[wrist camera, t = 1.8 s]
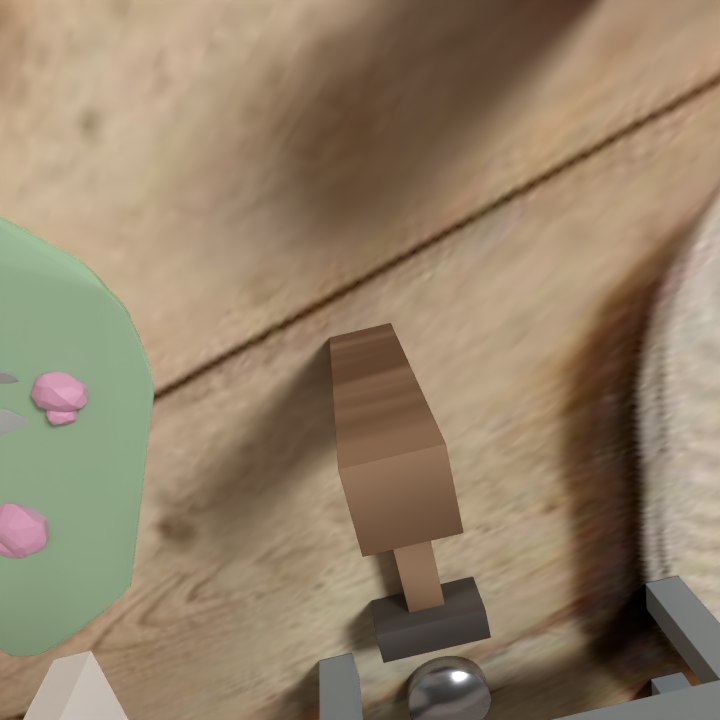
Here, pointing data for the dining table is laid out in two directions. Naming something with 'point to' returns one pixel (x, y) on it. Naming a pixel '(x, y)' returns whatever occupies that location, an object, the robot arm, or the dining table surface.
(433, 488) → the pusher tool
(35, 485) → the miniature garden model
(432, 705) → the silver flat dome
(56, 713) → the robot arm
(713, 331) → the dining table surface
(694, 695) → the cabinet
